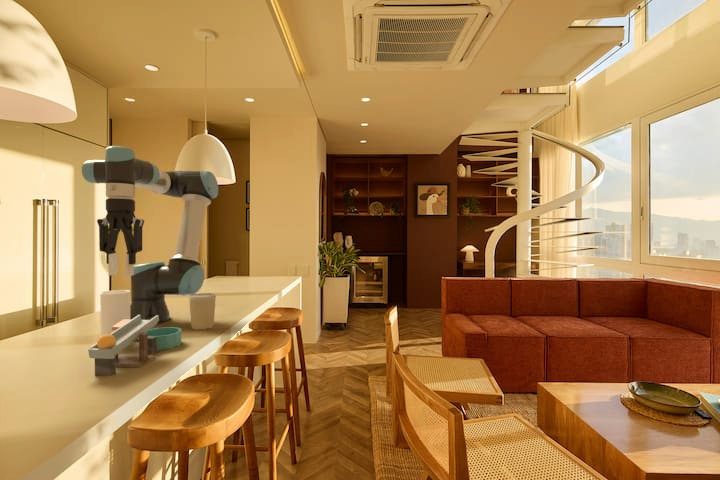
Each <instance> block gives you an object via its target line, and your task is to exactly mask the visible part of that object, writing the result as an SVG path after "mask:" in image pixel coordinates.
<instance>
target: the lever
mask: <svg viewBox="0 0 720 480" xmlns="http://www.w3.org/2000/svg"><path fill="white" fill-rule="evenodd" d="M158 321H159V316H158V315H156V316H155V317H153V318H152V319H151V320H141V315H138V316H136V317H135V318H133V319H132V320H130V319H123V320H122V321H120V322H119V323H117V324H116V325H114V326H112V330H115V331H114V332H112V333H111V334H109V335H112V336H114V337H115V339H116V344H115V346H113V347H112V348H111V349H100V348H98V346H97V342H95V343H94V344H93V345H91V346H90V347H89V348H88V349H87V352H88V357H89V359H95V358H103V359H114V358H115V355H117V354H120V353H121V352H122V351H123V350H124V349H126V348H127V347H129V345H131V344H133V343H139V334H141V333H146V332H147V331H148V330H151V329H153V328H154V327H156V325H157V324H159V323H158Z"/></svg>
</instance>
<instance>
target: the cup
mask: <svg viewBox="0 0 720 480" xmlns="http://www.w3.org/2000/svg"><path fill="white" fill-rule="evenodd" d="M99 294H100V296H99V297H100V299H99V300H100V302H99V305H100V309H99V310H100V337H101V336H103V335H107V334H109V333H112V332H114V331H115V330H112V326H114V325H116V324H117V323H119V322H120V321H122V320H123V319H130V305H131V290H129V289H114V290H113V289H112V290H105V291H101V292H100V293H99Z"/></svg>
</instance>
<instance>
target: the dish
mask: <svg viewBox="0 0 720 480" xmlns="http://www.w3.org/2000/svg"><path fill="white" fill-rule="evenodd" d="M146 333H147V336H152V337H156V351H164V350H169V349H168V348H170V349H173V348H176V346H177V347H178V346H180V345H182V328H181V327H178V326H177V327H176V326H175V327H174V326H165V327H156V328H151V329H149V330H148V331H147V332H146ZM172 347H173V348H172ZM163 349H164V350H163Z"/></svg>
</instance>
